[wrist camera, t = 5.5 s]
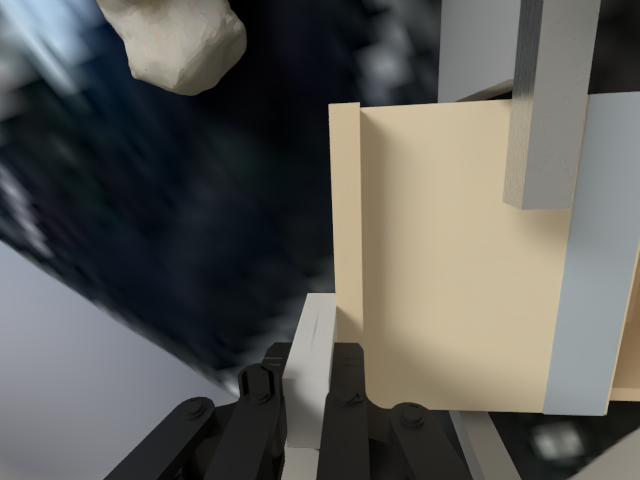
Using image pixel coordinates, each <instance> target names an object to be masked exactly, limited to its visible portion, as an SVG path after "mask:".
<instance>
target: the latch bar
mask: <svg viewBox="0 0 640 480" xmlns="http://www.w3.org/2000/svg"><path fill="white" fill-rule="evenodd" d="M600 2H601V0H521V5H520V16H519V27H518V38H517V49H516V60H515V71H514V81H513V92H512V103H511V114H510V125H509V136H508V147H507V157H506V168H505V179H504V190H503V201H502V202H503V203H505V204H508V205H510V206H513V207H515V208H518V209H520V210H536V209H571V203H572V196H573V189H574V182H575V175H576V168H577V161H578V155H579V148H580V141H581V134H582V127H583V120H584V113H585V106H586V99H587V92H588V85H589V78H590V72H591V65H592V58H593V51H594V44H595V37H596V30H597V23H598V16H599V9H600Z"/></svg>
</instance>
